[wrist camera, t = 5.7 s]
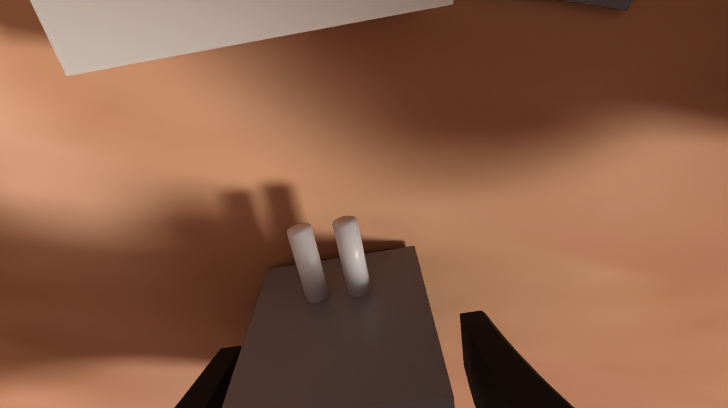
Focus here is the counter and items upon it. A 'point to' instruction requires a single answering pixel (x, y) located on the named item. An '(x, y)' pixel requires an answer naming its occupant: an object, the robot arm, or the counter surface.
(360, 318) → the charger
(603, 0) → the plate
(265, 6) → the power strip
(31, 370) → the counter surface
